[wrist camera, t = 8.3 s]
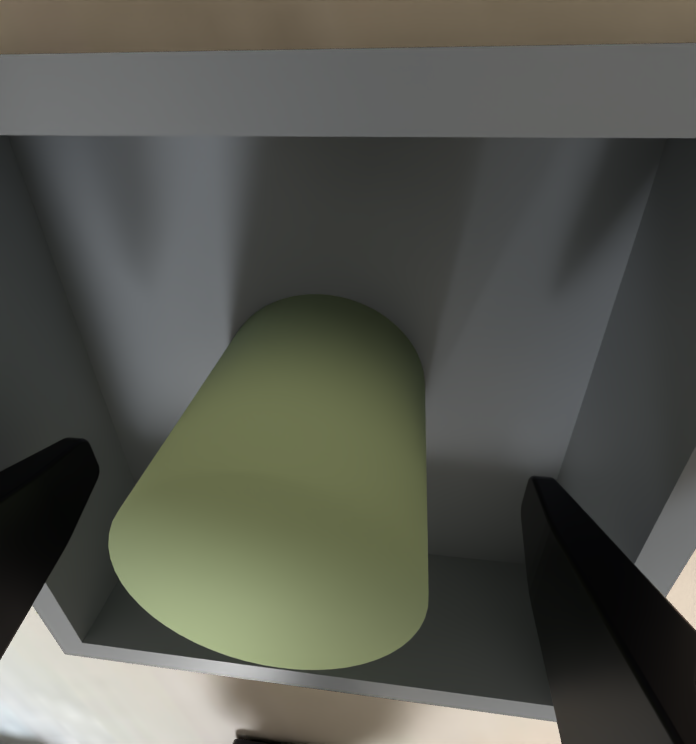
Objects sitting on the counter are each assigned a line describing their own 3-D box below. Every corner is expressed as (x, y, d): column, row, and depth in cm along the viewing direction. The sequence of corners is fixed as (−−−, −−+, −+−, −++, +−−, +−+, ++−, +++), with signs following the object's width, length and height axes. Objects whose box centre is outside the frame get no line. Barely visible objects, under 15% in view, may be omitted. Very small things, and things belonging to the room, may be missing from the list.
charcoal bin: (546, 566, 16) (586, 726, 12) (142, 524, 17) (64, 653, 13) (731, 46, 8) (1010, 37, 4) (-34, 59, 9) (-331, 59, 6)
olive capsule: (417, 466, 13) (416, 685, 9) (241, 452, 14) (151, 650, 9) (433, 298, 10) (445, 488, 6) (212, 289, 11) (61, 456, 6)
